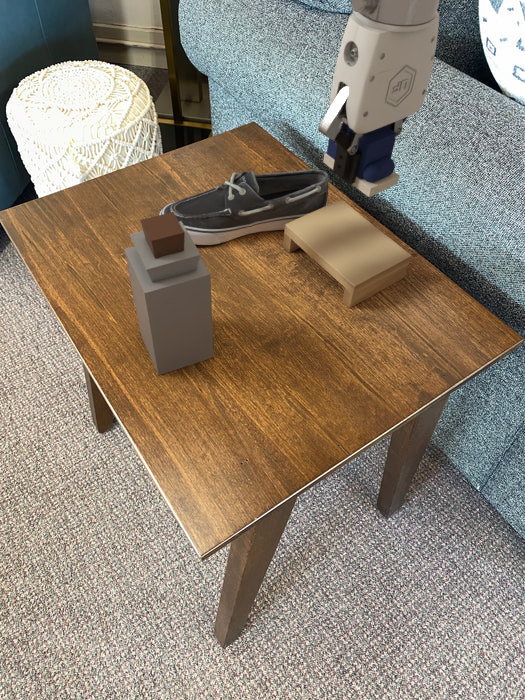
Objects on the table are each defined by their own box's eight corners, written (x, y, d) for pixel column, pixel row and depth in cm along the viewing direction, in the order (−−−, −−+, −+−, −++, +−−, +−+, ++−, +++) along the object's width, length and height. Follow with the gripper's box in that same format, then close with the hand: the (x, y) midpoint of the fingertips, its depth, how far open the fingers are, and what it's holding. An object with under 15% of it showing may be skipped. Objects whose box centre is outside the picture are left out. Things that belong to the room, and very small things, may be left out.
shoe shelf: (404, 277, 76) (412, 255, 73) (349, 308, 72) (354, 286, 69) (336, 221, 83) (340, 199, 80) (282, 246, 79) (285, 224, 76)
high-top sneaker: (322, 162, 67) (329, 118, 63) (351, 150, 69) (359, 107, 65) (368, 197, 64) (379, 153, 59) (397, 184, 65) (409, 140, 61)
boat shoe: (162, 251, 77) (156, 202, 71) (157, 211, 83) (151, 161, 76) (333, 235, 81) (342, 187, 75) (318, 197, 86) (325, 149, 80)
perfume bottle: (140, 333, 68) (117, 213, 54) (193, 317, 70) (183, 197, 56) (158, 375, 65) (138, 258, 51) (213, 357, 67) (209, 239, 52)
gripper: (356, 34, 47) (326, 213, 61) (489, -6, 53) (433, 164, 68) (299, 1, 50) (283, 177, 64) (430, -33, 57) (389, 134, 71)
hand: (360, 169), depth 66 cm, fingers closed on high-top sneaker, 4 cm apart
